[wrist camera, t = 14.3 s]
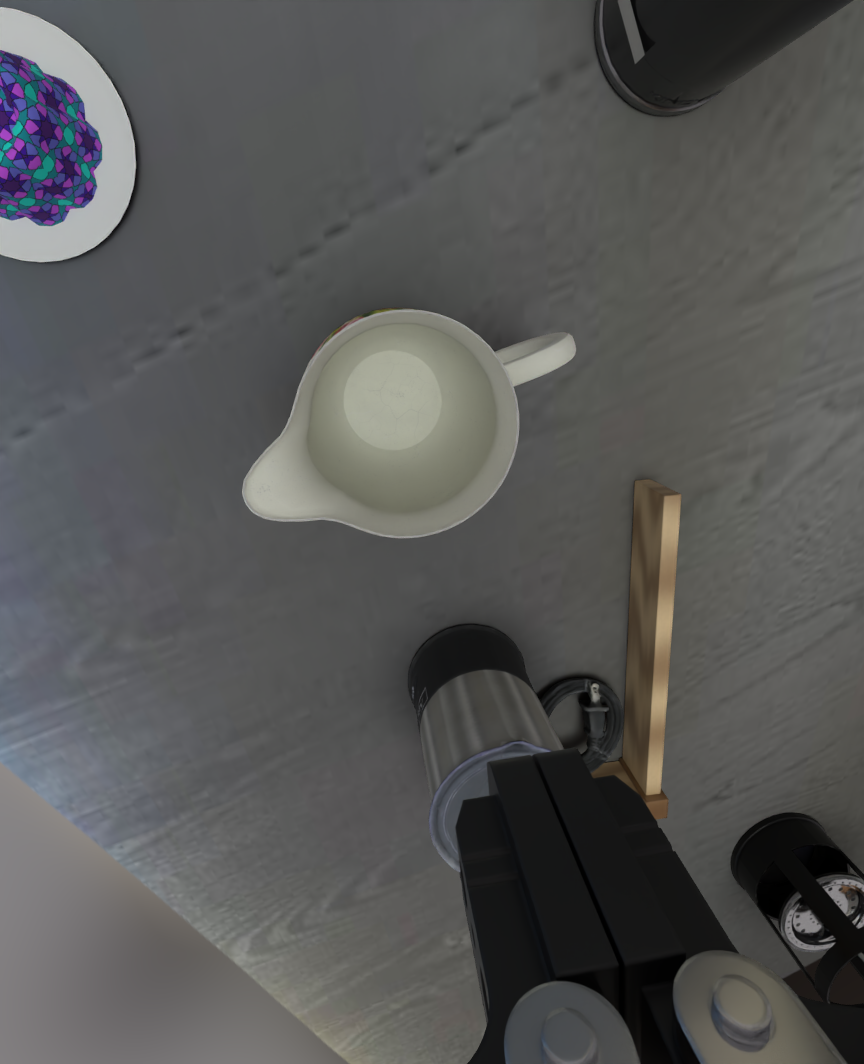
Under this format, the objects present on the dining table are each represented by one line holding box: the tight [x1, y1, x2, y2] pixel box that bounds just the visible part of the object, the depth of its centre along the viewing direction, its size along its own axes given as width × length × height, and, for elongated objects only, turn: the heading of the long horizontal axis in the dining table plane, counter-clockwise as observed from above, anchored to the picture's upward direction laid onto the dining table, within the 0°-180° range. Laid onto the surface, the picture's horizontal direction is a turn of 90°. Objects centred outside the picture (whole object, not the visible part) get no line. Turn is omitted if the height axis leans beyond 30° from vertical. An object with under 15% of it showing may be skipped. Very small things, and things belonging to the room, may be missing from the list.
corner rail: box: [591, 479, 681, 819], centre depth 45 cm, size 26×15×5 cm, turn 3°
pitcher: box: [242, 308, 576, 538], centre depth 33 cm, size 11×18×14 cm, turn 113°
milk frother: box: [408, 624, 624, 878], centre depth 41 cm, size 14×16×15 cm
